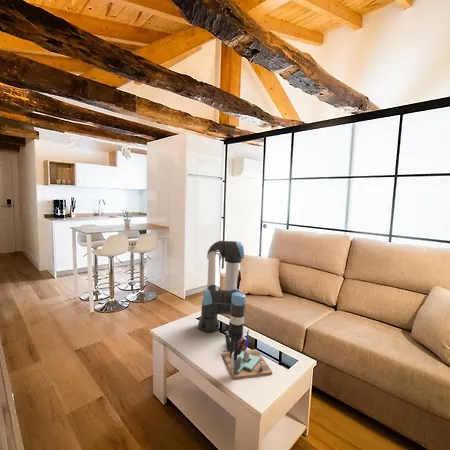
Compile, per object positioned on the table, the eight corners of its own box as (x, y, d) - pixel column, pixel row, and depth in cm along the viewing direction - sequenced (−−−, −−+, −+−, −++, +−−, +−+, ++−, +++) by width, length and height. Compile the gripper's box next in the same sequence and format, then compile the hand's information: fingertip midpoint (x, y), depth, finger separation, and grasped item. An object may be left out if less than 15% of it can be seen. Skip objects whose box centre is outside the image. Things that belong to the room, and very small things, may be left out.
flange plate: (241, 352, 154) (242, 341, 153) (260, 359, 148) (261, 348, 147) (224, 369, 137) (225, 357, 137) (245, 378, 131) (246, 365, 131)
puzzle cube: (245, 352, 158) (247, 336, 157) (229, 349, 160) (230, 333, 159) (247, 343, 168) (248, 328, 167) (232, 341, 170) (233, 326, 169)
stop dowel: (259, 369, 140) (259, 361, 139) (261, 369, 140) (262, 360, 140) (260, 371, 138) (261, 362, 138) (263, 370, 139) (263, 362, 138)
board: (222, 354, 153) (222, 343, 153) (256, 351, 160) (257, 339, 159) (233, 379, 132) (234, 366, 132) (272, 374, 138) (273, 361, 138)
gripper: (222, 321, 136) (219, 364, 138) (244, 328, 129) (240, 373, 131) (229, 316, 142) (225, 357, 144) (250, 323, 136) (246, 365, 138)
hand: (232, 364), depth 138 cm, fingers closed
